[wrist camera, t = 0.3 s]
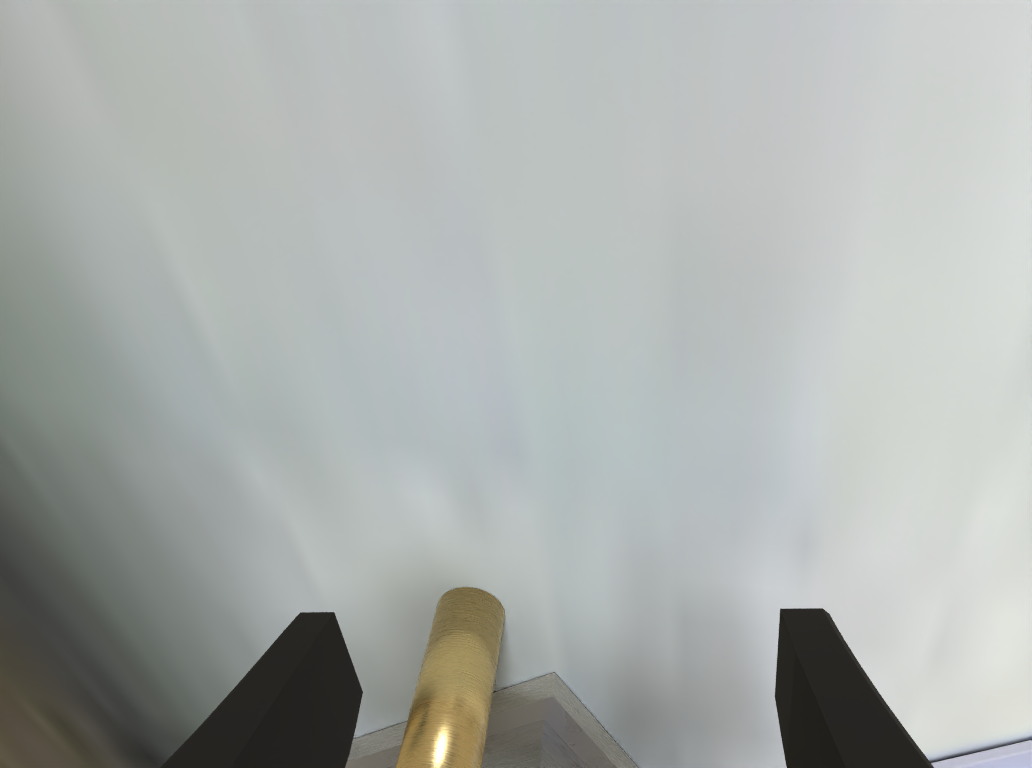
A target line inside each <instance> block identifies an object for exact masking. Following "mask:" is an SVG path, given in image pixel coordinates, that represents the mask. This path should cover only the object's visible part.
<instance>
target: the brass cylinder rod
mask: <svg viewBox="0 0 1032 768" xmlns="http://www.w3.org/2000/svg"><path fill="white" fill-rule="evenodd" d="M504 618H505V612H504V609H503V606H502V604H501V603H500V602H499V601H498V600H497V599H496V598H495V597H494V596H493V595H491V594H490V593H488V592H486V591H483V590H480V589H477V588H470V587H462V588H456V589H453V590H450V591H448V592H446V593H445V594H444V595H443V596H442V597H441V598H440V600H439V602H438V605H437V609H436V613H435V617H434V620H433V624H432V628H431V632H430V636H429V640H428V644H427V648H426V651H425V655H424V659H423V663H422V667H421V671H420V675H419V679H418V682H417V686H416V690H415V694H414V698H413V702H412V706H411V710H410V713H409V717H408V721H407V725H406V729H405V733H404V737H403V741H402V744H401V748H400V752H399V756H398V760H397V764H396V768H481V765H482V759H483V753H484V746H485V740H486V733H487V727H488V720H489V714H490V708H491V701H492V695H493V688H494V682H495V675H496V669H497V663H498V656H499V650H500V643H501V637H502V630H503V624H504Z"/></svg>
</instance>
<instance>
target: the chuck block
mask: <svg viewBox="0 0 1032 768" xmlns="http://www.w3.org/2000/svg"><path fill="white" fill-rule="evenodd" d="M406 725H407V722H404V723H401V724H398V725H395V726H392V727H389V728H386V729H383V730H380V731H377V732H374V733H371V734H368V735H365V736H362V737H359V738H356V739H353V741H352V745H351V750H350V754H349V757H348V760H347V763H346V766H345V768H396V764H397V760H398V756H399V752H400V748H401V744H402V741H403V737H404V733H405V729H406ZM481 768H638V767H637V766H636V765H635V764H634V762H633V761H632V760H631V759H630V758H629V757H628V756H627V754H626V753H625V752H624V751H623V750H622V749H621V748H620V746H619V745H618V744H617V743H616V742H615V741H614V740H613V738H612V737H611V736H610V735H609V734H608V733H607V732H606V730H605V729H604V728H603V727H602V726H601V725H600V724H599V722H598V721H597V720H596V719H595V718H594V717H593V716H592V714H591V713H590V712H589V711H588V710H587V709H586V708H585V706H584V705H583V704H582V703H581V702H580V701H579V700H578V698H577V697H576V696H575V695H574V694H573V693H572V692H571V690H570V689H569V688H568V687H567V686H566V685H565V684H564V682H563V681H562V680H561V679H560V678H559V677H558V676H557V674H556V673H555V672H554V673H551V674H548V675H545V676H542V677H539V678H536V679H533V680H530V681H527V682H524V683H521V684H518V685H515V686H512V687H509V688H506V689H503V690H500V691H497V692H494V693H493V695H492V701H491V708H490V714H489V720H488V727H487V733H486V740H485V746H484V753H483V759H482V765H481Z"/></svg>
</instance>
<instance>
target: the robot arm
mask: <svg viewBox="0 0 1032 768" xmlns="http://www.w3.org/2000/svg"><path fill="white" fill-rule="evenodd" d="M362 694H363V691H362V689H361V686H360V683H359V680H358V677H357V675H356V672H355V669H354V666H353V663H352V661H351V658H350V655H349V652H348V649H347V647H346V644H345V641H344V638H343V636H342V633H341V630H340V627H339V624H338V622H337V619H336V616H335V613H334V612H311V613H300V614H299V615H298V616H297V617H296V618H295V619H294V620H293V621H292V622H291V624H290V625H289V626H288V627H287V628H286V629H285V630H284V631H283V633H282V634H281V635H280V636H279V637H278V638H277V640H276V641H275V642H274V643H273V644H272V645H271V646H270V648H269V649H268V650H267V651H266V652H265V653H264V655H263V656H262V657H261V658H260V659H259V660H258V662H257V663H256V664H255V665H254V666H253V667H252V668H251V670H250V671H249V672H248V673H247V674H246V675H245V676H244V678H243V679H242V680H241V681H240V682H239V683H238V685H237V686H236V687H235V688H234V689H233V690H232V691H231V692H230V693H229V695H228V696H227V697H226V698H225V699H224V700H223V701H222V702H221V703H220V705H219V706H218V707H217V708H216V709H215V710H214V711H213V712H212V713H211V715H210V716H209V717H208V718H207V719H206V720H205V721H204V722H203V723H202V725H201V726H200V727H199V728H198V729H197V730H196V731H195V732H194V733H193V734H192V735H191V736H190V737H189V738H188V739H187V740H186V741H185V742H184V744H183V745H182V746H181V747H180V748H179V749H178V750H177V751H176V752H175V753H174V754H173V755H172V756H171V757H170V758H169V759H168V760H167V761H166V762H165V763H164V764H163V765H162V766H161V767H160V768H345V766H346V763H347V760H348V757H349V754H350V750H351V745H352V741H353V737H354V732H355V728H356V723H357V718H358V713H359V708H360V703H361V698H362ZM775 700H776V706H777V712H778V718H779V725H780V731H781V737H782V743H783V748H784V754H785V760H786V766H787V768H1032V740H1029V741H1025V742H1020V743H1016V744H1012V745H1007V746H1003V747H999V748H994V749H990V750H986V751H981V752H977V753H973V754H968V755H964V756H960V757H955V758H951V759H947V760H942V761H938V762H934V763H930V762H929V760H928V759H927V758H926V756H925V755H924V754H923V753H922V751H921V750H920V749H919V747H918V746H917V745H916V743H915V742H914V740H913V739H912V738H911V736H910V735H909V734H908V732H907V731H906V730H905V728H904V727H903V726H902V724H901V723H900V721H899V720H898V719H897V717H896V716H895V715H894V713H893V712H892V711H891V709H890V708H889V706H888V705H887V704H886V702H885V701H884V699H883V698H882V696H881V695H880V694H879V692H878V691H877V689H876V688H875V686H874V685H873V683H872V682H871V680H870V679H869V677H868V676H867V674H866V673H865V671H864V670H863V668H862V667H861V665H860V664H859V662H858V661H857V659H856V658H855V656H854V654H853V653H852V651H851V650H850V648H849V647H848V645H847V643H846V642H845V640H844V638H843V637H842V635H841V633H840V632H839V630H838V628H837V627H836V625H835V623H834V621H833V620H832V618H831V616H830V614H829V613H827V612H826V611H825V610H824V609H780V623H779V639H778V656H777V672H776V688H775Z"/></svg>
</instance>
